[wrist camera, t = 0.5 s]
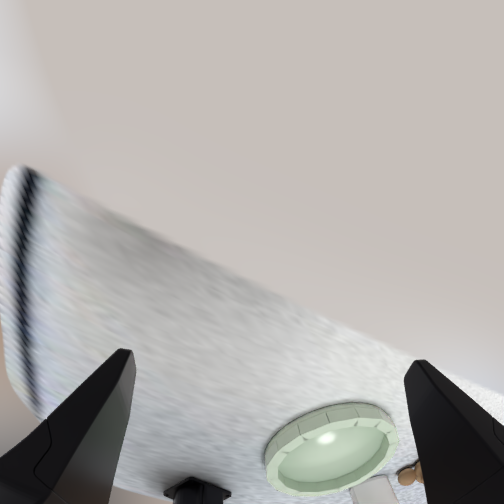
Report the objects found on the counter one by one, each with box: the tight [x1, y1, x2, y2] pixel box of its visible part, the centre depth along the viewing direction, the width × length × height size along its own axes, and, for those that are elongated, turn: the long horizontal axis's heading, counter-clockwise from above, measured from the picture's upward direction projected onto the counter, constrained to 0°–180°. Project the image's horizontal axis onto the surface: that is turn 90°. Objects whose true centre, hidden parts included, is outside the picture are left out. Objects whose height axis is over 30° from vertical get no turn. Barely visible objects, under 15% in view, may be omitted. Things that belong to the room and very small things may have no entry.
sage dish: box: [265, 403, 399, 497], centre depth 30 cm, size 15×15×2 cm
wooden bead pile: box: [398, 462, 424, 486], centre depth 33 cm, size 8×6×5 cm
